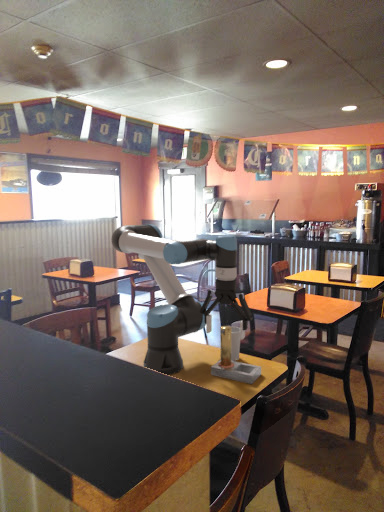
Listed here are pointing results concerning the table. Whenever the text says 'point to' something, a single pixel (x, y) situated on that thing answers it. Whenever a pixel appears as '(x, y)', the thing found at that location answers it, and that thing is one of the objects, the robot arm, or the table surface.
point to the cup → (235, 343)
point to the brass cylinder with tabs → (225, 345)
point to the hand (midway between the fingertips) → (225, 335)
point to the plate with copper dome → (237, 371)
